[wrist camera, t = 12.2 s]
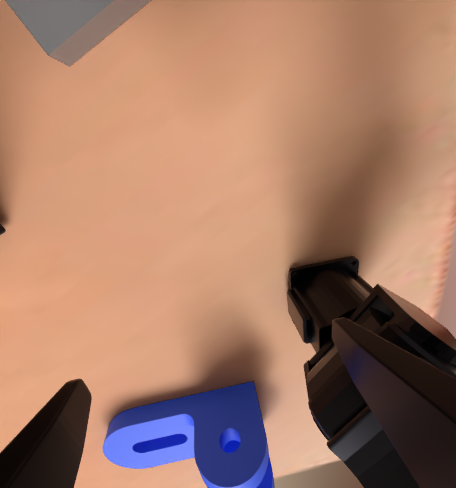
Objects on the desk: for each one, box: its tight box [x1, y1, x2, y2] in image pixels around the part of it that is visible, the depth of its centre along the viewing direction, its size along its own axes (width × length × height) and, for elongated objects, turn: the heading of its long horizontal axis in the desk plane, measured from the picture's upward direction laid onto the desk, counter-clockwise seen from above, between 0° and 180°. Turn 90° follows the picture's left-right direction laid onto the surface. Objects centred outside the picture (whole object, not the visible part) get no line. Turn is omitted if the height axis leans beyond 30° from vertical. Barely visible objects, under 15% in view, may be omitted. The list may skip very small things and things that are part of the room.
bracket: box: [103, 381, 274, 488], centre depth 26 cm, size 18×8×9 cm, turn 100°
